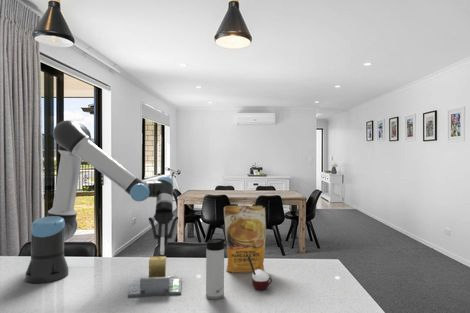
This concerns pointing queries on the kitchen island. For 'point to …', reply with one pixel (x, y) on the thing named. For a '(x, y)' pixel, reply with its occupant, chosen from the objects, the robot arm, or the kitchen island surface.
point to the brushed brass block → (158, 267)
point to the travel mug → (215, 269)
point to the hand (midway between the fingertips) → (162, 253)
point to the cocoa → (259, 278)
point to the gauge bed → (155, 287)
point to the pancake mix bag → (245, 237)
